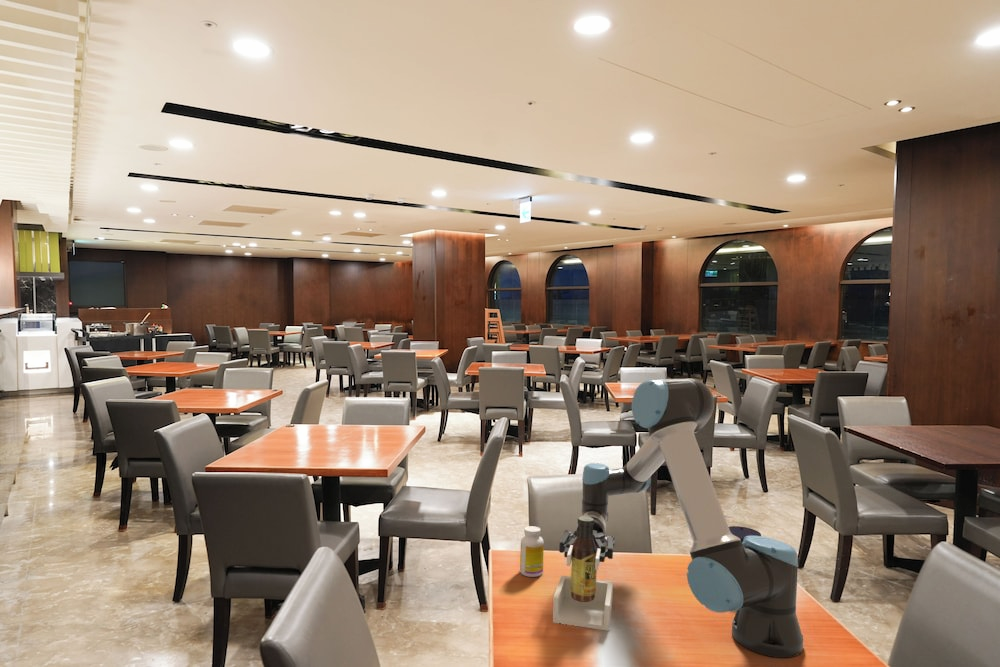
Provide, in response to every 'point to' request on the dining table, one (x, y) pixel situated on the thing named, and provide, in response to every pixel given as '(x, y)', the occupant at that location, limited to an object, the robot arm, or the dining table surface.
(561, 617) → the bottle stand
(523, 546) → the supplement bottle
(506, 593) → the dining table surface
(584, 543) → the sauce bottle
